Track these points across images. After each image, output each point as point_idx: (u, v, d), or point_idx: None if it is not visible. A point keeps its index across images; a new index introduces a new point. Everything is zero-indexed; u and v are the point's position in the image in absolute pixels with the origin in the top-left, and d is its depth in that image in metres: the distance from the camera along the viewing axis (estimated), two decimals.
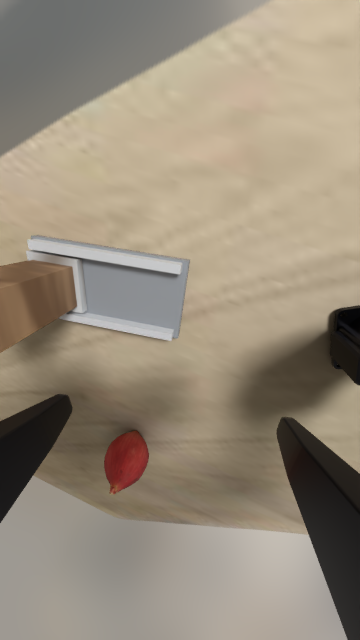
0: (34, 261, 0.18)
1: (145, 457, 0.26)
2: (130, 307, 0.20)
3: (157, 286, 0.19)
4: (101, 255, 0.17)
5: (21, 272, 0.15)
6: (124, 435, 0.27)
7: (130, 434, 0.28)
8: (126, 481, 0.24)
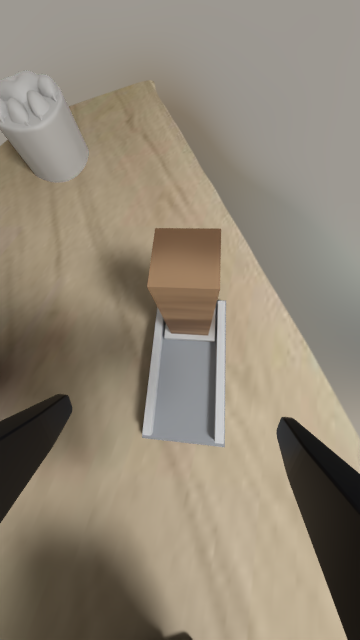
0: None
1: None
2: (172, 384, 0.21)
3: (197, 414, 0.20)
4: (222, 365, 0.20)
5: None
6: None
7: None
8: None
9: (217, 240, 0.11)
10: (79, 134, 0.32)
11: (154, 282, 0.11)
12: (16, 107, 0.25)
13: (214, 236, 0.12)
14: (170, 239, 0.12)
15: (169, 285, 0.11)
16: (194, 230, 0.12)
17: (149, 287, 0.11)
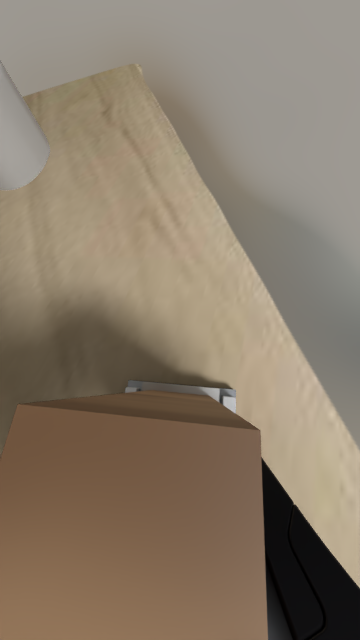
0: None
1: None
2: None
3: None
4: None
5: None
6: None
7: None
8: None
9: (248, 498, 0.03)
10: (32, 125, 0.23)
11: None
12: None
13: (235, 471, 0.03)
14: (60, 469, 0.03)
15: None
16: (156, 429, 0.03)
17: None
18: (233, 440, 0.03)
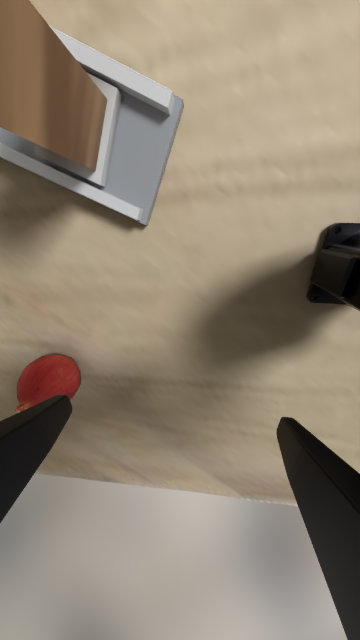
0: None
1: (75, 383, 0.22)
2: None
3: (133, 132, 0.14)
4: (61, 38, 0.11)
5: None
6: None
7: (61, 355, 0.23)
8: None
9: None
10: None
11: None
12: None
13: None
14: None
15: None
16: None
17: None
18: None
